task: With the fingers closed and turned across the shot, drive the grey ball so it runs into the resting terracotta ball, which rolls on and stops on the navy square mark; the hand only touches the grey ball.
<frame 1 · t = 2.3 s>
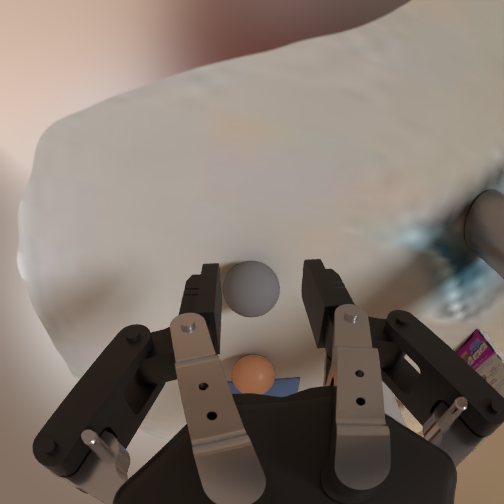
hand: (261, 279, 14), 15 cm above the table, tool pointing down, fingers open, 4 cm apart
grey ball: (251, 289, 29), on the table
object ball: (253, 375, 36), on the table
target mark: (253, 404, 44), on the table
candy bar box: (463, 349, 44), on the table
cylinder vase: (354, 394, 46), on the table
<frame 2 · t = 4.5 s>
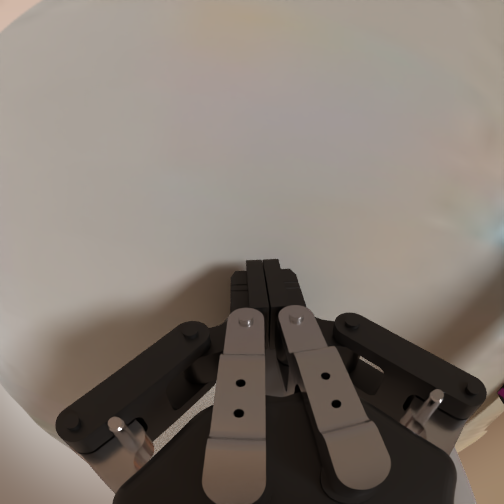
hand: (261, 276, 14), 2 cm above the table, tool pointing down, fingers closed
grey ball: (268, 351, 15), on the table, touching gripper
cylinder vase: (400, 437, 30), on the table
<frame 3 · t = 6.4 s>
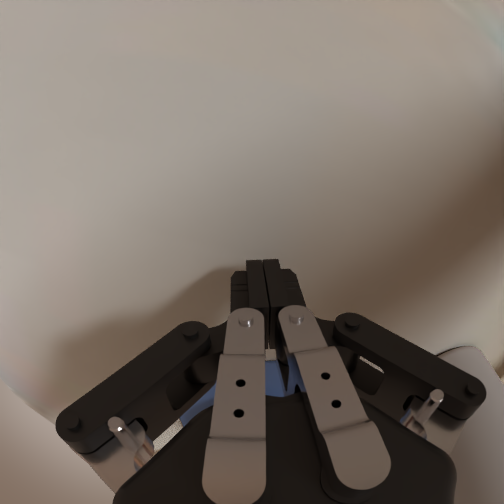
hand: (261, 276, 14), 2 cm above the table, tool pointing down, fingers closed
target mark: (259, 411, 23), on the table
cylinder vase: (431, 384, 24), on the table
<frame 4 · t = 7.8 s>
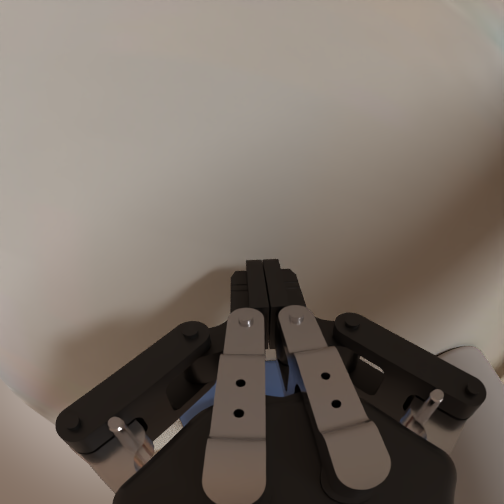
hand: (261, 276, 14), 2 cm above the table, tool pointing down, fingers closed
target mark: (259, 411, 23), on the table
cylinder vase: (431, 384, 24), on the table
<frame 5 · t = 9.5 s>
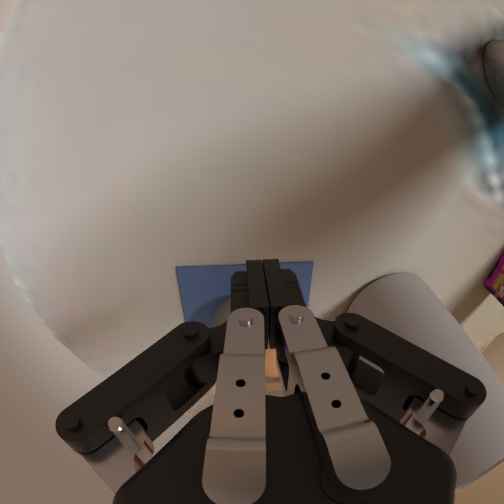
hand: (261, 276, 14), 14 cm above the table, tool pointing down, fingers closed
grey ball: (240, 322, 30), on the table
object ball: (273, 354, 33), on the table
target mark: (246, 316, 33), on the table
cylinder vase: (385, 309, 35), on the table
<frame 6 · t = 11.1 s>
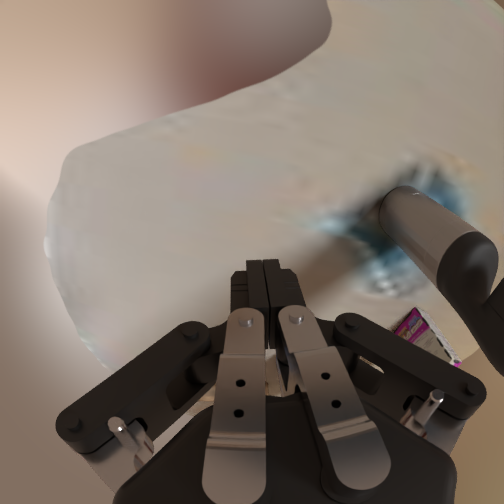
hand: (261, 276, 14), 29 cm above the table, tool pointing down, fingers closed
candy bar box: (405, 326, 58), on the table
stopper: (223, 386, 63), on the table
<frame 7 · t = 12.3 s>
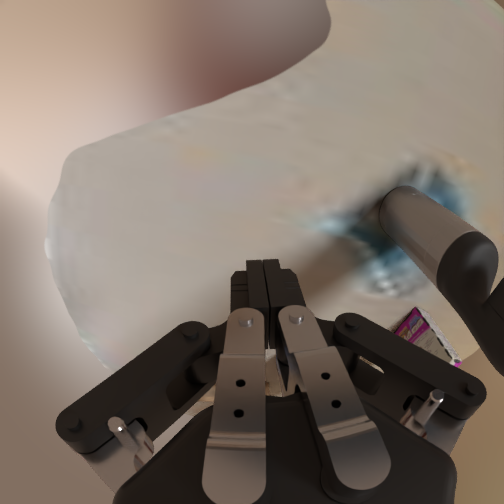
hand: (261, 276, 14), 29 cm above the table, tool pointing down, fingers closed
candy bar box: (406, 326, 58), on the table
stopper: (224, 386, 63), on the table
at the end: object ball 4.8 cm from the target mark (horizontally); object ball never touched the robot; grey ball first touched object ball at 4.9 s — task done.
